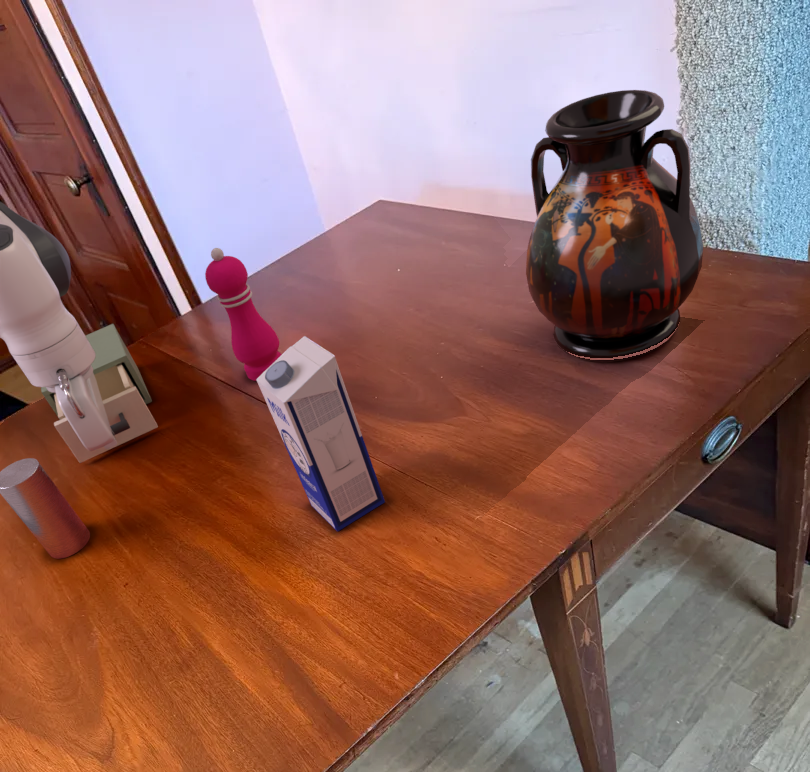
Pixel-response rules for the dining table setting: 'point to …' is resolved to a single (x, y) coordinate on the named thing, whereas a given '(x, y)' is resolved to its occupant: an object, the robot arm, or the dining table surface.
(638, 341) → the amphora vase
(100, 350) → the cabinet
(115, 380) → the drawer
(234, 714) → the dining table surface
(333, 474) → the milk carton
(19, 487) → the can
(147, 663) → the dining table surface
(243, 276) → the pepper mill
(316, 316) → the dining table surface
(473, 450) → the dining table surface
